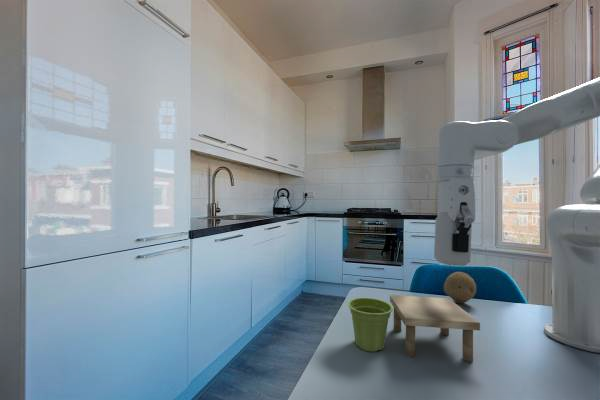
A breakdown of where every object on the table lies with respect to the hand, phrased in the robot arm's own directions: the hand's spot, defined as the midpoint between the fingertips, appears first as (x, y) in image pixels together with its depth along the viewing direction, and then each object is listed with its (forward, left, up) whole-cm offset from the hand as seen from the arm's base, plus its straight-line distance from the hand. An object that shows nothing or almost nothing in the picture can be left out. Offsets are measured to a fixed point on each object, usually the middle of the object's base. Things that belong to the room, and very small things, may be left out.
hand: (452, 248), depth 63 cm
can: (0, 0, -4) cm, 4 cm away
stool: (+7, +4, -21) cm, 22 cm away
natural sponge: (-12, -24, -21) cm, 34 cm away
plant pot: (+20, +7, -21) cm, 30 cm away
